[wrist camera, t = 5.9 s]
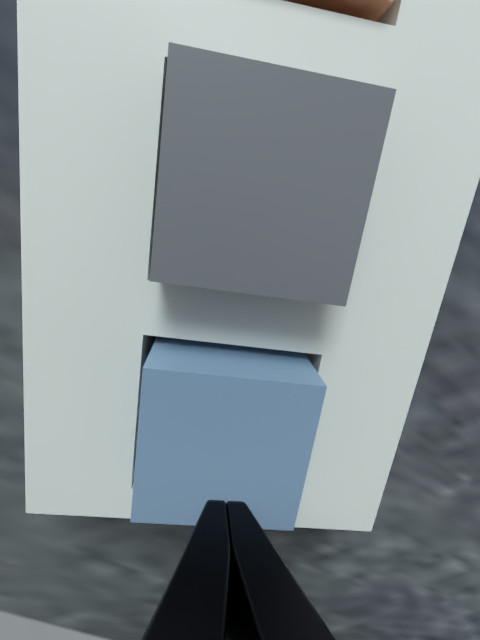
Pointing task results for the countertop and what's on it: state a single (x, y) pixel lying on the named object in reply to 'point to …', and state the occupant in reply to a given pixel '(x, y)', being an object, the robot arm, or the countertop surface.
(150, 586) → the countertop surface
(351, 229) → the key charcoal
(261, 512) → the key slate
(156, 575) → the countertop surface
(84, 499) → the keypad
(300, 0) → the tan square block
